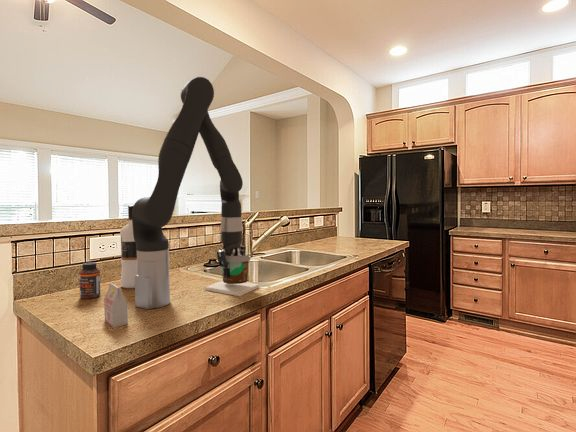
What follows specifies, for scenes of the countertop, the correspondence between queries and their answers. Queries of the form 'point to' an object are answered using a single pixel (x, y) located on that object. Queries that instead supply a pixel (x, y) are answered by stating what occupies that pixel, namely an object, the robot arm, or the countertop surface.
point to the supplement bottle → (89, 281)
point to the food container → (237, 269)
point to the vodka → (128, 253)
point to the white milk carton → (115, 307)
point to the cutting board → (232, 288)
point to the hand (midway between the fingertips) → (232, 276)
